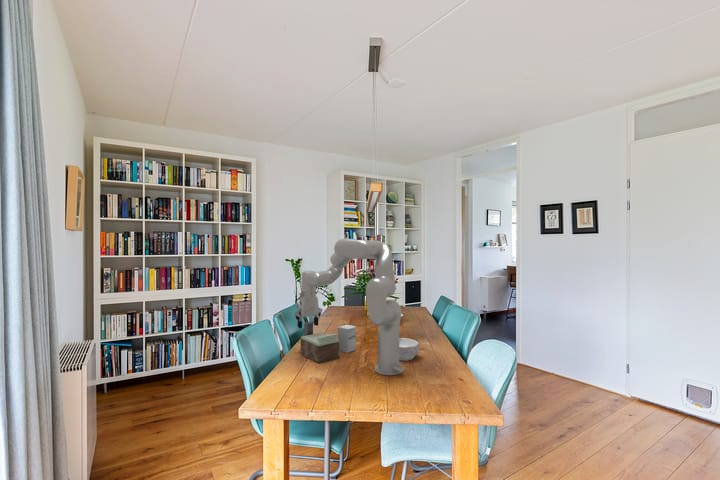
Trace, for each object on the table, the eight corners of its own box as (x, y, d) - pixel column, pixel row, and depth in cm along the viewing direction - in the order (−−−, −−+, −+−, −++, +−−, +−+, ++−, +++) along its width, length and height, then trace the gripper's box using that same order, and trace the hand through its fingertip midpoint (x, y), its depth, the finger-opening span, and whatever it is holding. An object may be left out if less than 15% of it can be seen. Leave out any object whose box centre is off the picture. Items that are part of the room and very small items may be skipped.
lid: (338, 341, 173) (339, 334, 173) (318, 346, 165) (318, 338, 165) (321, 334, 185) (321, 327, 185) (301, 338, 178) (301, 331, 178)
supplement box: (347, 353, 181) (347, 329, 181) (337, 350, 185) (337, 326, 185) (356, 349, 187) (356, 326, 187) (345, 347, 191) (346, 324, 191)
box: (338, 358, 173) (338, 342, 173) (318, 363, 165) (318, 346, 165) (315, 347, 190) (315, 333, 190) (295, 352, 182) (295, 336, 182)
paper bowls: (415, 364, 165) (415, 347, 165) (384, 360, 170) (384, 344, 170) (420, 354, 179) (420, 339, 179) (392, 351, 184) (392, 336, 184)
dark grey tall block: (313, 342, 184) (313, 323, 184) (307, 343, 181) (307, 323, 181) (309, 340, 186) (309, 321, 186) (304, 341, 184) (304, 322, 184)
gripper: (297, 296, 176) (297, 330, 176) (326, 293, 187) (325, 325, 187) (290, 294, 181) (289, 327, 181) (318, 292, 192) (318, 323, 192)
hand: (308, 326), depth 184 cm, fingers open, 9 cm apart
